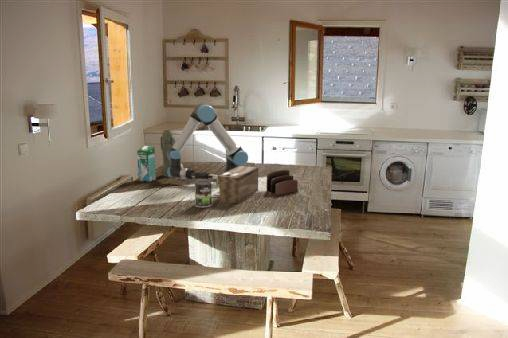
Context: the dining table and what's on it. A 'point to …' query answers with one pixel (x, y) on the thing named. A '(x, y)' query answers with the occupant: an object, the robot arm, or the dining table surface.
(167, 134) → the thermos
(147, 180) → the milk carton
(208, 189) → the coffee can
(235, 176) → the box
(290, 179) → the letter holder
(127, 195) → the dining table surface
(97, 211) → the dining table surface
